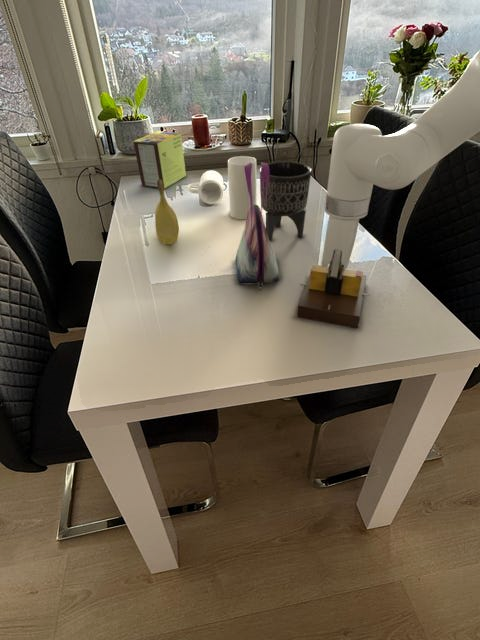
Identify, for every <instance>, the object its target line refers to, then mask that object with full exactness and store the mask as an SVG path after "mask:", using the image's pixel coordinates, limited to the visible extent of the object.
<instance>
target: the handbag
mask: <svg viewBox="0 0 480 640" xmlns="http://www.w3.org/2000/svg"><path fill="white" fill-rule="evenodd" d="M268 164H269V163H266V162H262V161H260V165H261V167H262V168H261V167H260V168H261V179H260V178H259V184H260V185H259V186H260V187H259V189H260V190H259V193H260V206H259V205H258V204H257V205H253V202H252V187H251V170H252V163H249V164H247V165H245V167H244V168H245V175H246V182H247V187H248V191H249V195H250V205H251V207H250V209H249V213H247V218H246V219H245V223H244V228H243V231H242V234H241V238H240V242H239V245H238V248H237V250H236V254H235V268H236V269H235V270H236V277H237V279H236V280H237V283H238V284H241V285H252V284H258V289H259V291H261V289H263V283H274V282H275V283H276V282H278V281H280V278H281V274H280V269H279V265H278V261H277V257H276V255H275V252H274V249H273V246H272V243H271V240H269V237H268V234H267V227H266V223H265V221H264V217H263V208H262V187H263V181H264V178H265V179H266V198H267V191H268V186H269V178H270V170H269V166H268ZM260 288H261V289H260Z"/></svg>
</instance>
